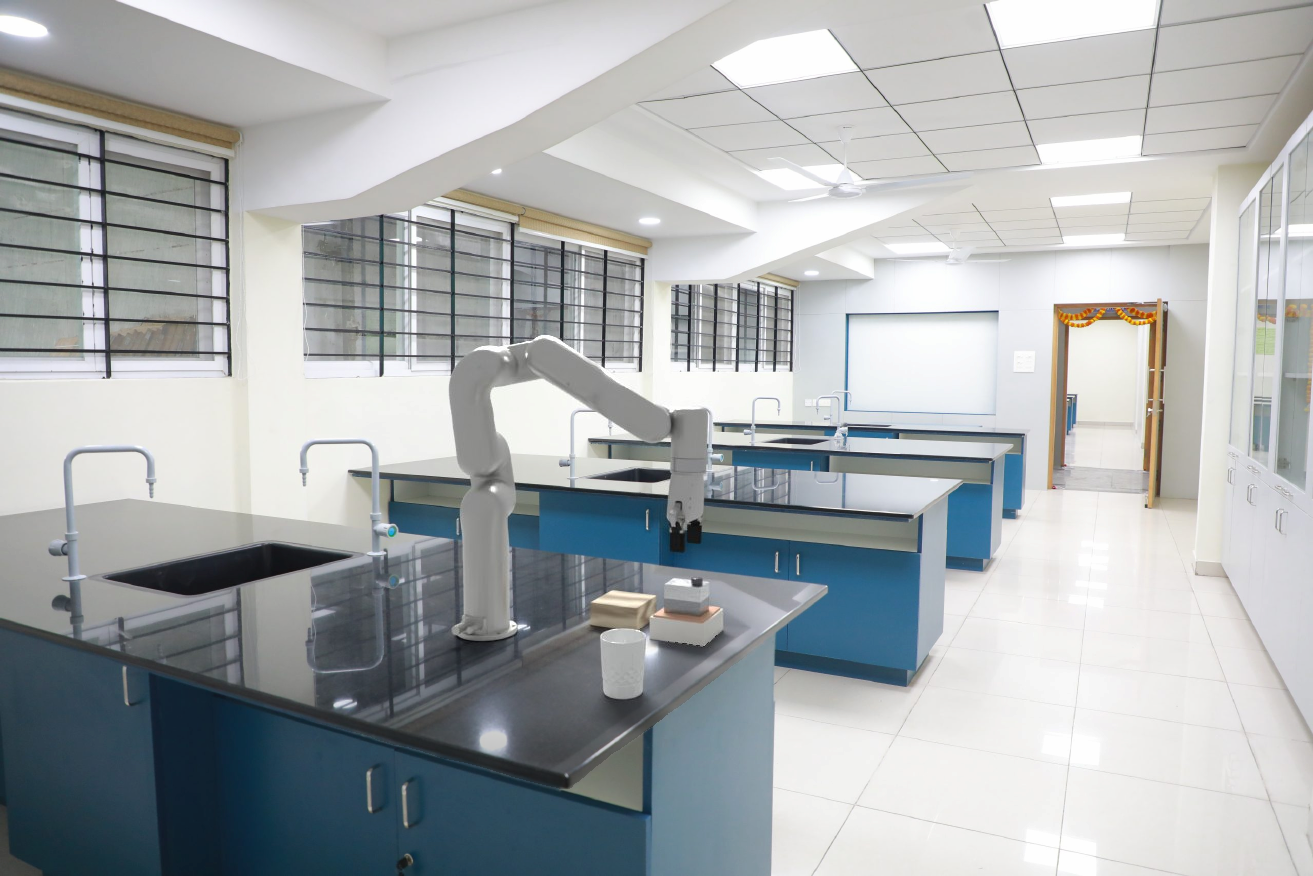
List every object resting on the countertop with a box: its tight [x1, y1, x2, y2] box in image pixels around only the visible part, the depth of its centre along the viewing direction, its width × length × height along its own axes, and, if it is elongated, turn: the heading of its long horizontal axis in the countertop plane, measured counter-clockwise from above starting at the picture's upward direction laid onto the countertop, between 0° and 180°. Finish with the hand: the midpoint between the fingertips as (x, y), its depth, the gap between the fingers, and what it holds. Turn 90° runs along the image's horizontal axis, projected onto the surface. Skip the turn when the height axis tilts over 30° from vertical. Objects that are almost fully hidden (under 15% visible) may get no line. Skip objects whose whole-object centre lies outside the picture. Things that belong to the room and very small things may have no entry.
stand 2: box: [649, 605, 724, 647], centre depth 176 cm, size 12×12×5 cm
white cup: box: [599, 628, 647, 700], centre depth 144 cm, size 8×8×10 cm
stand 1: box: [589, 590, 658, 631], centre depth 184 cm, size 11×11×5 cm
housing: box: [663, 576, 710, 617], centre depth 175 cm, size 8×6×7 cm
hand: (685, 547), depth 174 cm, fingers open, 9 cm apart
